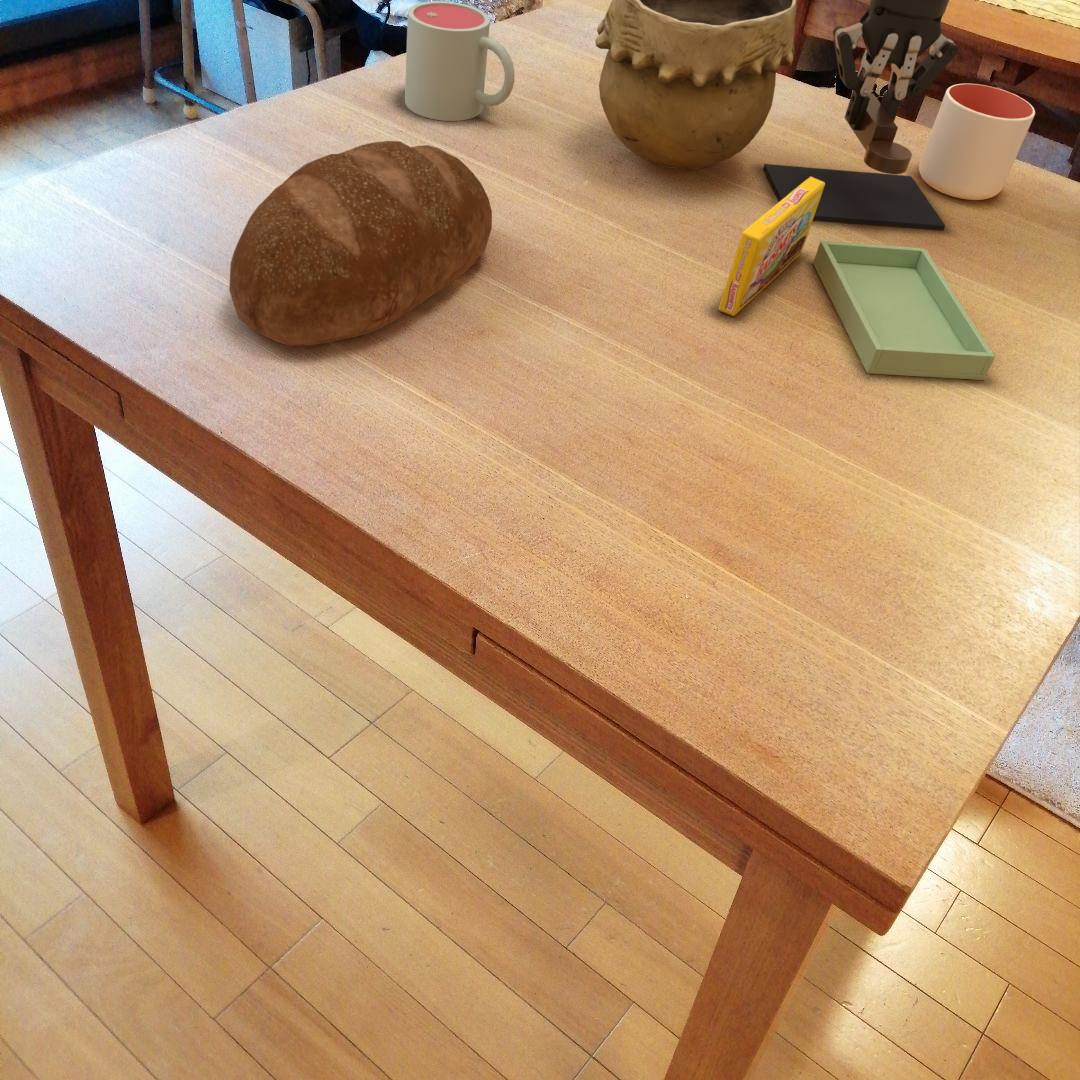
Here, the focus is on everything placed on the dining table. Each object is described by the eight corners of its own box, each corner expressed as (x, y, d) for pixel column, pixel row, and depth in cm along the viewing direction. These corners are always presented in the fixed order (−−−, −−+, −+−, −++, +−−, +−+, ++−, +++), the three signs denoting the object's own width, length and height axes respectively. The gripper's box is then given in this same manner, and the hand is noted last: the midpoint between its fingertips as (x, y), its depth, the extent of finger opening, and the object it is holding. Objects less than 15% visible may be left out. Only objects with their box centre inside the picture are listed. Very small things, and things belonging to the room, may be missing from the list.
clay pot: (723, 224, 115) (773, 27, 101) (547, 162, 121) (572, -32, 107) (786, 159, 129) (837, -22, 116) (625, 106, 135) (656, -72, 121)
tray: (916, 270, 113) (925, 248, 111) (984, 380, 99) (995, 356, 97) (812, 263, 111) (820, 240, 109) (867, 373, 97) (876, 349, 96)
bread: (187, 312, 92) (172, 185, 84) (397, 195, 111) (400, 83, 103) (334, 384, 87) (332, 257, 79) (526, 249, 106) (540, 136, 99)
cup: (1016, 196, 129) (1053, 112, 122) (962, 210, 125) (998, 125, 118) (951, 160, 135) (983, 78, 128) (898, 173, 130) (928, 89, 123)
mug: (388, 103, 127) (391, 13, 120) (435, 82, 133) (439, -5, 127) (486, 141, 123) (494, 50, 116) (529, 117, 129) (539, 29, 122)
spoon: (873, 120, 123) (882, 94, 121) (912, 176, 114) (923, 148, 111) (834, 117, 123) (843, 90, 121) (870, 172, 113) (880, 144, 111)
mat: (909, 180, 129) (911, 175, 128) (943, 230, 120) (945, 225, 120) (762, 168, 126) (764, 163, 126) (787, 218, 118) (788, 213, 117)
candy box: (737, 320, 101) (759, 239, 96) (716, 311, 102) (737, 230, 96) (803, 256, 112) (827, 180, 106) (784, 249, 113) (807, 173, 107)
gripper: (867, -38, 104) (814, 137, 116) (1003, -23, 106) (937, 148, 118) (846, -62, 110) (797, 108, 122) (975, -47, 112) (915, 119, 123)
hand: (866, 127), depth 120 cm, fingers closed on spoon, 2 cm apart
